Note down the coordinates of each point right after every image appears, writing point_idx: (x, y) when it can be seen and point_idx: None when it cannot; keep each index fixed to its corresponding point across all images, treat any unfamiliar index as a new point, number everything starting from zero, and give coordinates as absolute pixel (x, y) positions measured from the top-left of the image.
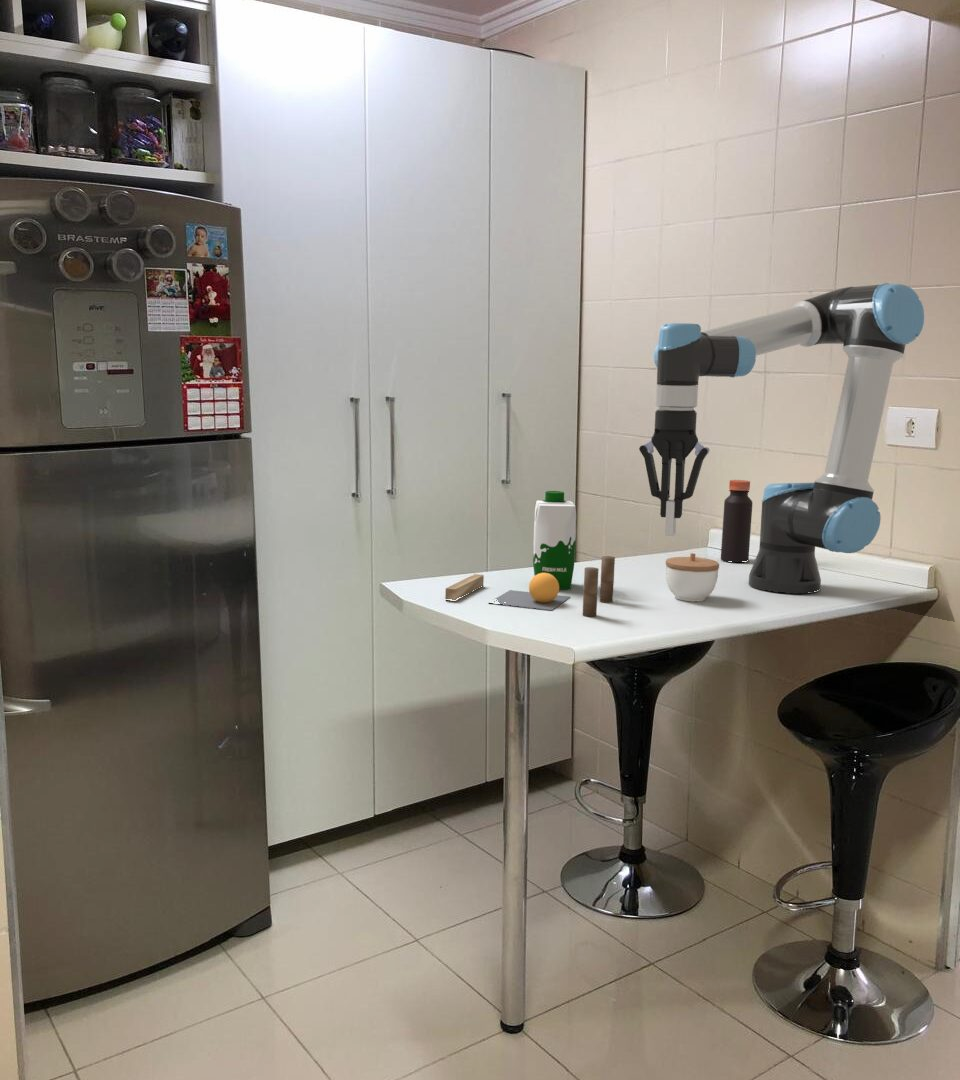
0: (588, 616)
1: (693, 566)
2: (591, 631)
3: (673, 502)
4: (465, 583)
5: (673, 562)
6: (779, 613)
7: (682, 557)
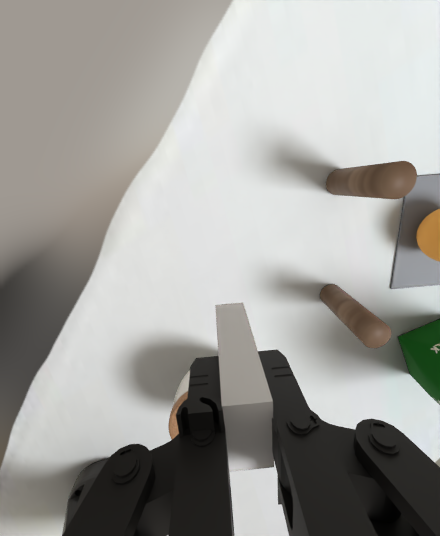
0: (337, 169)
1: None
2: (310, 53)
3: (226, 401)
4: None
5: None
6: (73, 355)
7: None
